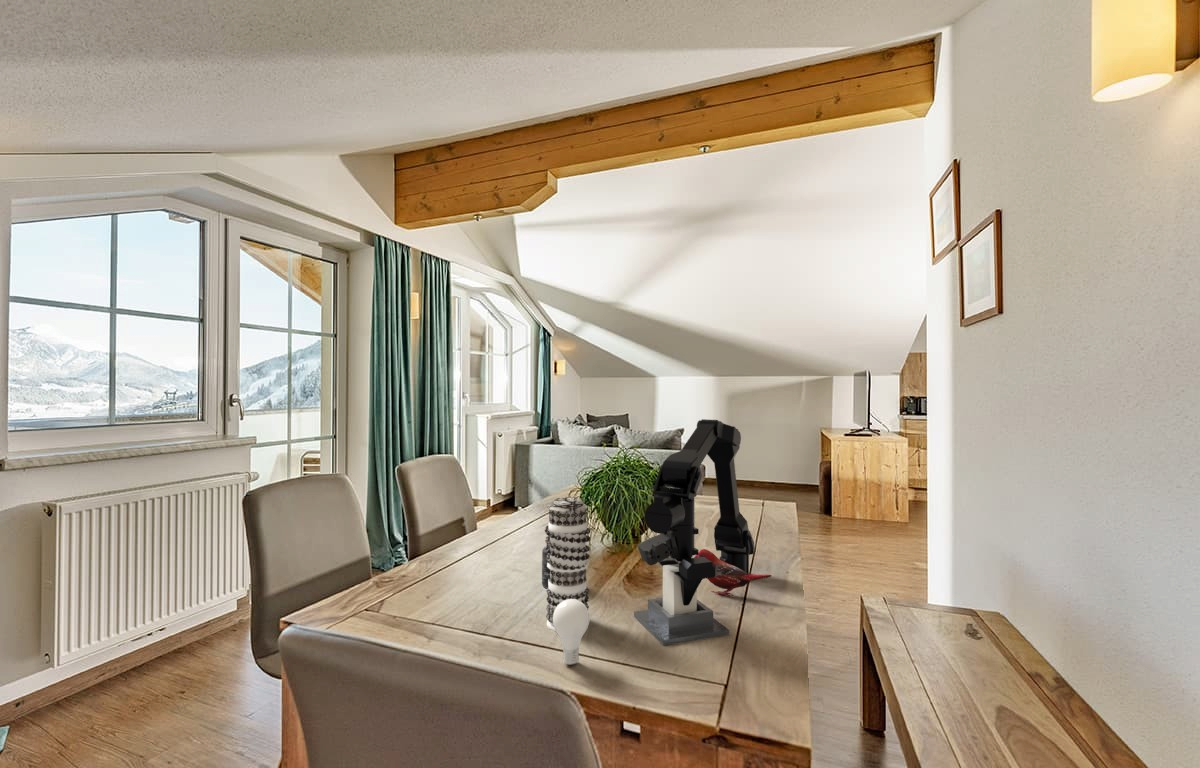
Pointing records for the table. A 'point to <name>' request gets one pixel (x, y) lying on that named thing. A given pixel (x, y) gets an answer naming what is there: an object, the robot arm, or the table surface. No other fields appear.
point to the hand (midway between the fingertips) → (679, 600)
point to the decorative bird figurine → (728, 574)
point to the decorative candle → (566, 553)
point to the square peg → (675, 592)
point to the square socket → (679, 623)
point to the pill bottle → (545, 569)
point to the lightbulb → (571, 627)
